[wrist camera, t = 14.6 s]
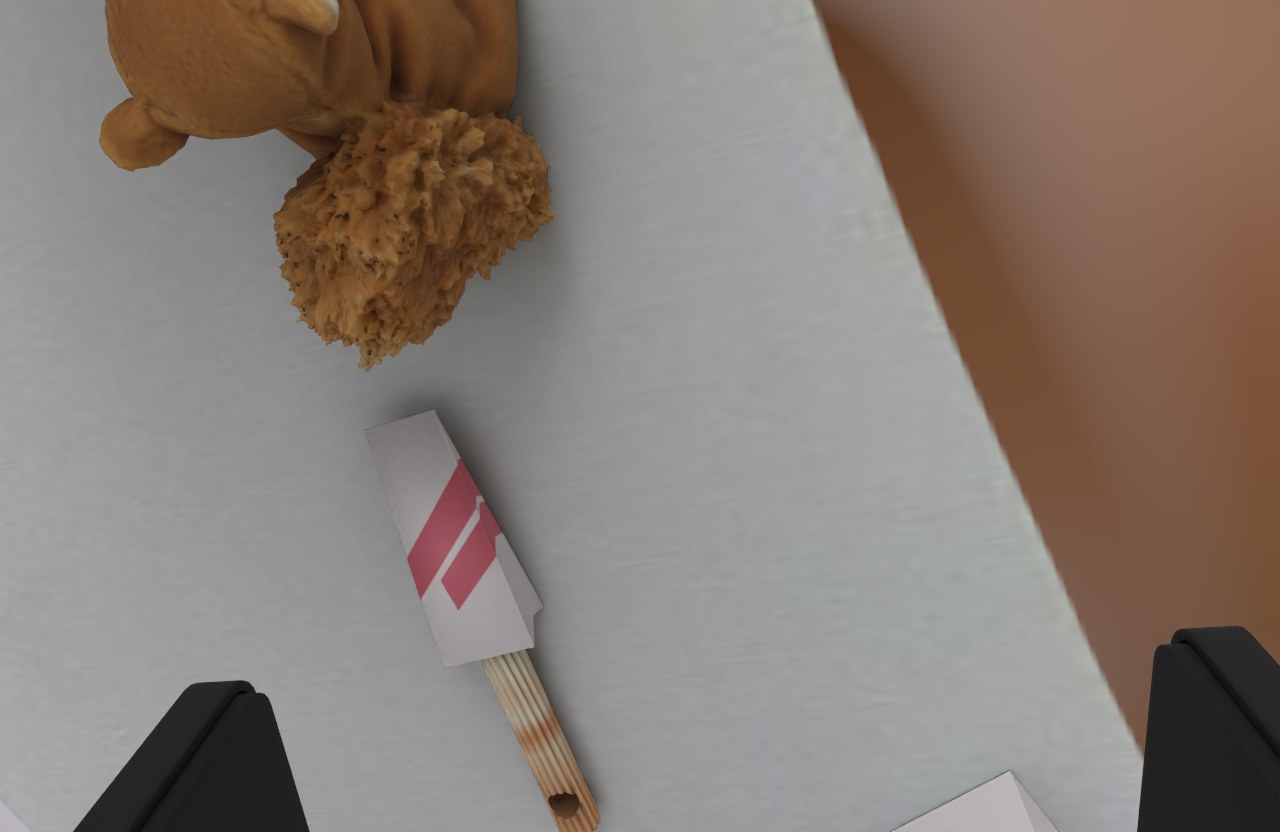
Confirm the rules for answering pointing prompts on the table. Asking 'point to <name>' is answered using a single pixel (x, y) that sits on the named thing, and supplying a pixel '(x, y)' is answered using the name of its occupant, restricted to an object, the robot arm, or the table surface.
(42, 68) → the table surface
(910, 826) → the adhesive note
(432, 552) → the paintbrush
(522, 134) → the stuffed squirrel
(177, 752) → the robot arm
